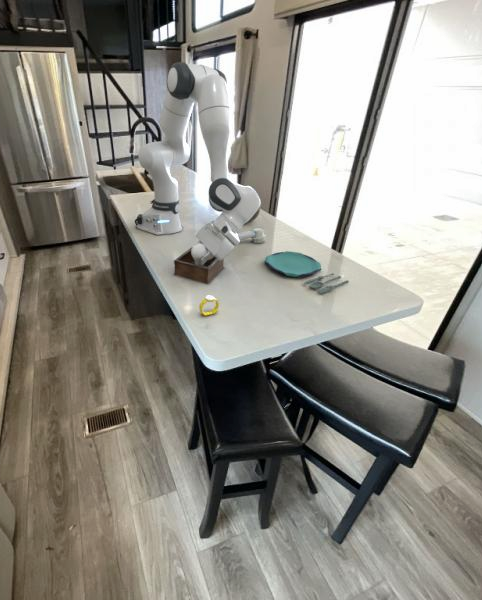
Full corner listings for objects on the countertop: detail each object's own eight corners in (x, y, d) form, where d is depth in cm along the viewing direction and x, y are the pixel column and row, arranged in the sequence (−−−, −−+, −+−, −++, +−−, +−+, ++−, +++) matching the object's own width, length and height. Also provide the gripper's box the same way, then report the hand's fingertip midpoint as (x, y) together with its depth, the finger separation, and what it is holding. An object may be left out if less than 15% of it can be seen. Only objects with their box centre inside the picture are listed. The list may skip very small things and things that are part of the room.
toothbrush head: (209, 235, 139) (262, 223, 142) (210, 249, 143) (262, 237, 146) (212, 239, 135) (267, 227, 138) (214, 253, 139) (267, 241, 142)
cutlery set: (293, 252, 134) (294, 247, 133) (353, 284, 112) (354, 278, 111) (255, 262, 126) (256, 256, 125) (312, 298, 104) (313, 292, 103)
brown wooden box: (174, 274, 117) (173, 260, 114) (191, 260, 127) (192, 246, 124) (207, 284, 112) (208, 269, 108) (223, 268, 122) (224, 254, 119)
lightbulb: (188, 269, 121) (188, 242, 115) (203, 266, 123) (204, 239, 117) (195, 276, 116) (195, 248, 110) (210, 273, 118) (211, 246, 112)
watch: (201, 318, 94) (202, 302, 91) (197, 313, 96) (198, 297, 93) (219, 314, 96) (220, 297, 93) (215, 309, 99) (216, 293, 95)
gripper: (208, 214, 120) (183, 241, 122) (231, 233, 103) (202, 264, 106) (218, 224, 123) (194, 250, 126) (242, 244, 107) (213, 274, 110)
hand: (198, 257), depth 116 cm, fingers closed on lightbulb, 6 cm apart
